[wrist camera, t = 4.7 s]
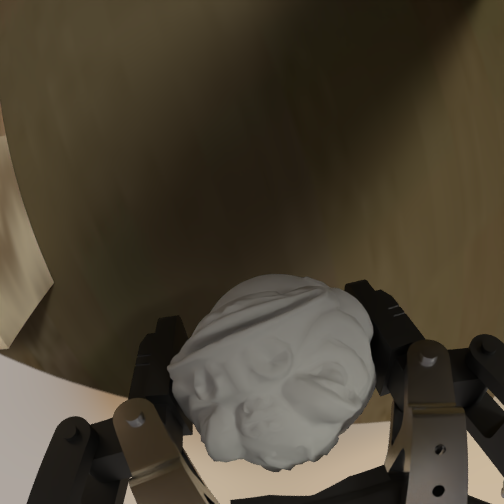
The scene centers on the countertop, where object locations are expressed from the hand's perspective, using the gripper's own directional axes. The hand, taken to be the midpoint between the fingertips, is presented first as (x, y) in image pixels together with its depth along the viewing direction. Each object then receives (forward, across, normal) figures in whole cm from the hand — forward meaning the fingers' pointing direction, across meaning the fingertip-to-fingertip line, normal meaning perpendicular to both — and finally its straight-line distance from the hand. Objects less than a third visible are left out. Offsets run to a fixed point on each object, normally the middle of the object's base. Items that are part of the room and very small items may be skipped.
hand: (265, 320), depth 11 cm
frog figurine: (+1, 0, 0) cm, 1 cm away
